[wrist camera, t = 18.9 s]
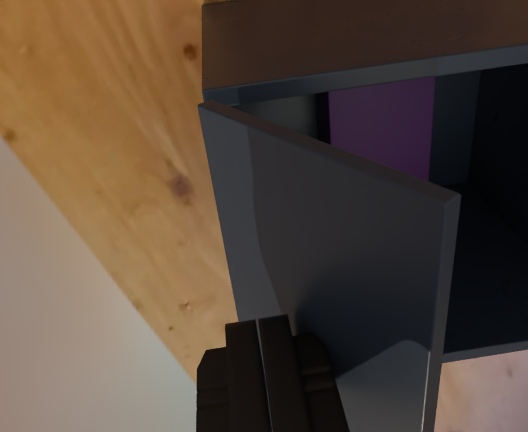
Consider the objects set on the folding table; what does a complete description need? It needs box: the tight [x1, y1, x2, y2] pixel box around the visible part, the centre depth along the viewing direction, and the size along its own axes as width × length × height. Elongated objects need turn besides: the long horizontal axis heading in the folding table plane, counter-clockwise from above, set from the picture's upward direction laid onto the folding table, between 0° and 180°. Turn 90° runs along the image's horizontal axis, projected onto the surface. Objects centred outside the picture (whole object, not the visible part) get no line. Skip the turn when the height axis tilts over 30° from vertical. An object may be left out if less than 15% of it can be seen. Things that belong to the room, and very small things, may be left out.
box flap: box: [198, 100, 461, 432], centre depth 12 cm, size 6×11×1 cm
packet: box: [316, 76, 436, 182], centre depth 23 cm, size 7×4×3 cm, turn 7°
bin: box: [202, 0, 528, 363], centre depth 17 cm, size 14×11×18 cm
